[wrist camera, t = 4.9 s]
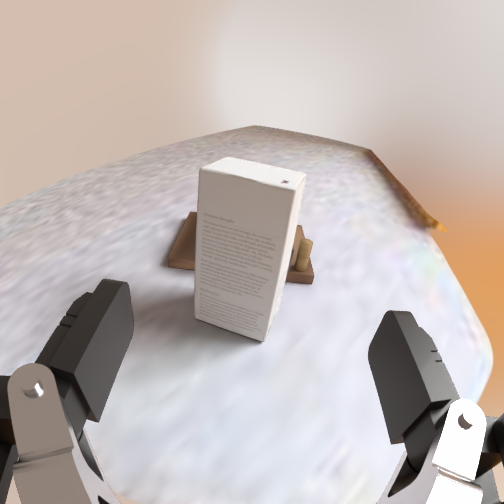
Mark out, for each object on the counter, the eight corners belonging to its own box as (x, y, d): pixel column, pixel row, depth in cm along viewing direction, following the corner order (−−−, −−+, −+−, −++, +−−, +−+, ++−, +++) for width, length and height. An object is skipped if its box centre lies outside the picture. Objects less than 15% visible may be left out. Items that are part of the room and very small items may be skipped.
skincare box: (279, 311, 26) (310, 173, 20) (264, 344, 23) (297, 190, 16) (213, 289, 27) (226, 154, 21) (191, 318, 24) (197, 167, 18)
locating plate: (168, 266, 29) (167, 229, 27) (190, 218, 39) (191, 189, 37) (311, 284, 30) (321, 248, 28) (299, 232, 40) (306, 203, 37)
